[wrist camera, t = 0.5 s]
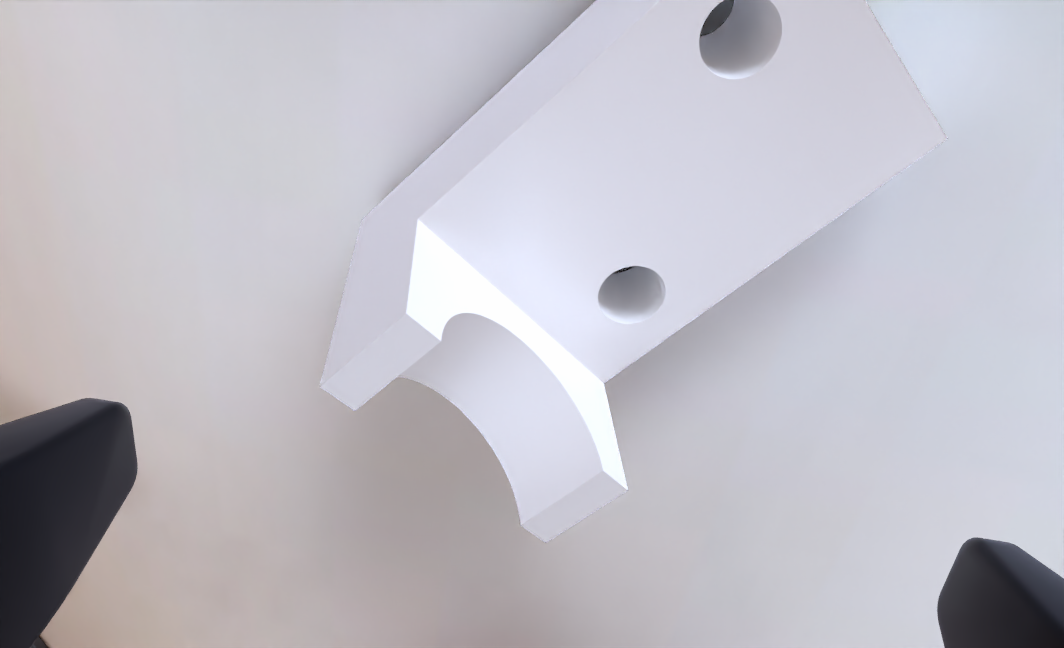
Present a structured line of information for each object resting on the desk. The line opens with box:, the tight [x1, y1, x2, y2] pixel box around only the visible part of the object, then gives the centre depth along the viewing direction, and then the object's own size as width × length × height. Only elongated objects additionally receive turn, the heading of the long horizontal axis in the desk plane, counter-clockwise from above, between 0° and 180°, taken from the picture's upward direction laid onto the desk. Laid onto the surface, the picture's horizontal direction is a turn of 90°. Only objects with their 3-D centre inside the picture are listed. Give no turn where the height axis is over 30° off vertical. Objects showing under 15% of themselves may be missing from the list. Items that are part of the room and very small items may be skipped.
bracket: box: [320, 0, 948, 543], centre depth 18 cm, size 13×7×8 cm, turn 131°
